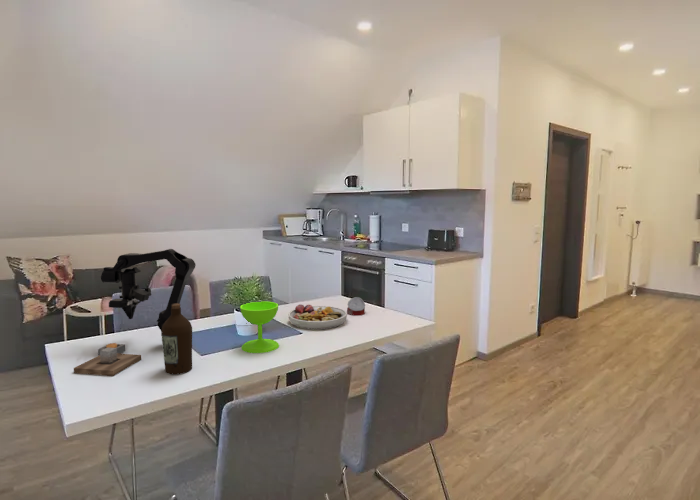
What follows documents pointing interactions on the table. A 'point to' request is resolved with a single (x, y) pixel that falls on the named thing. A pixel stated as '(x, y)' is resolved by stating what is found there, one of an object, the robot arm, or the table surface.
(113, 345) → the button
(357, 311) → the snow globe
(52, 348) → the table surface
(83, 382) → the table surface
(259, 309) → the wineglass
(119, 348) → the button housing
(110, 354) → the metal billet
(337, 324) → the bowl
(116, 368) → the walnut pallet
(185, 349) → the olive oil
